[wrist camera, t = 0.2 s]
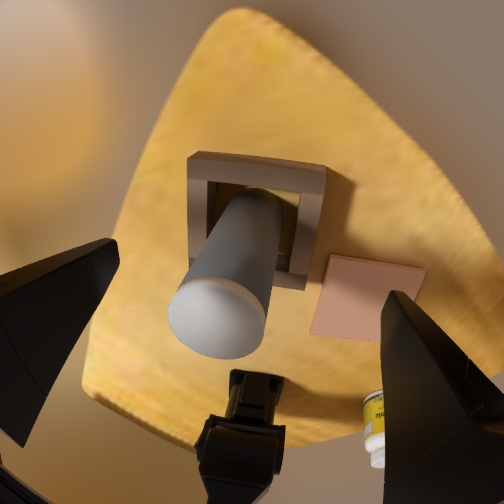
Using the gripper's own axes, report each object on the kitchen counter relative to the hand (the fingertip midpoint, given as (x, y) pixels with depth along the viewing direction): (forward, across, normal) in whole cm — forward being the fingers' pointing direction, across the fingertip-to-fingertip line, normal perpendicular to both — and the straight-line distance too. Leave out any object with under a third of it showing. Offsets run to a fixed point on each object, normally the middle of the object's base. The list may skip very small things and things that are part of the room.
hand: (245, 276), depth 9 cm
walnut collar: (+15, +2, +5) cm, 15 cm away
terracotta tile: (+15, -9, +11) cm, 21 cm away
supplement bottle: (+15, -18, +27) cm, 36 cm away
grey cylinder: (+15, +2, +5) cm, 15 cm away
